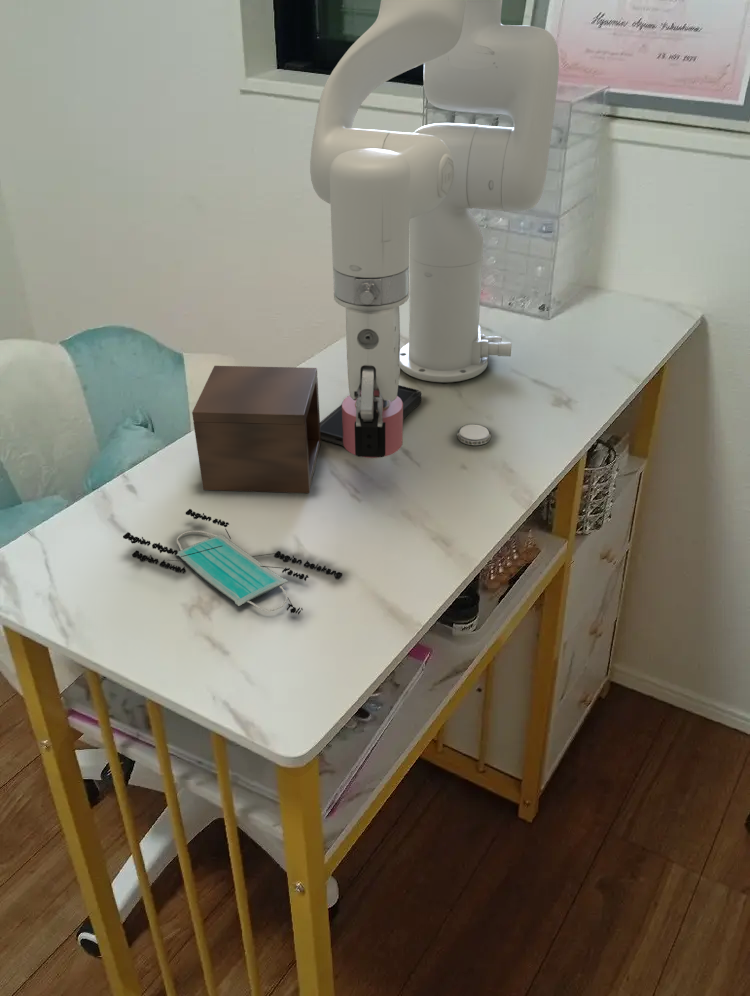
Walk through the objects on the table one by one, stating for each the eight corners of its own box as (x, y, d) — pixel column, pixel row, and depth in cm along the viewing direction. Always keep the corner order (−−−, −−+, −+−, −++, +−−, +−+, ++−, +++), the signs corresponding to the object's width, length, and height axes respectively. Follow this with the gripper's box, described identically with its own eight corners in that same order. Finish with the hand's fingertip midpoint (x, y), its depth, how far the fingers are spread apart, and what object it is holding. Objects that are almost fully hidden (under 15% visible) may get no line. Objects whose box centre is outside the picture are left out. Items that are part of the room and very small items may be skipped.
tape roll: (403, 428, 103) (404, 389, 100) (401, 458, 97) (401, 419, 95) (346, 426, 103) (344, 388, 100) (340, 457, 98) (338, 417, 95)
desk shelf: (321, 441, 110) (317, 367, 104) (309, 493, 101) (304, 415, 95) (223, 439, 111) (214, 365, 105) (203, 490, 102) (191, 412, 96)
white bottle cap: (452, 440, 109) (452, 436, 109) (464, 425, 112) (464, 421, 112) (483, 447, 108) (484, 443, 108) (495, 432, 111) (495, 427, 111)
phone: (424, 391, 117) (367, 444, 107) (424, 399, 118) (367, 452, 107) (371, 378, 121) (311, 428, 110) (371, 385, 121) (311, 436, 111)
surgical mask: (110, 535, 88) (173, 482, 95) (118, 569, 90) (179, 515, 98) (291, 597, 80) (345, 534, 87) (295, 632, 83) (347, 568, 90)
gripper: (405, 318, 83) (403, 482, 93) (412, 253, 97) (410, 401, 107) (323, 317, 83) (330, 480, 93) (342, 252, 97) (346, 399, 107)
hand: (372, 436), depth 100 cm, fingers closed on tape roll, 6 cm apart
